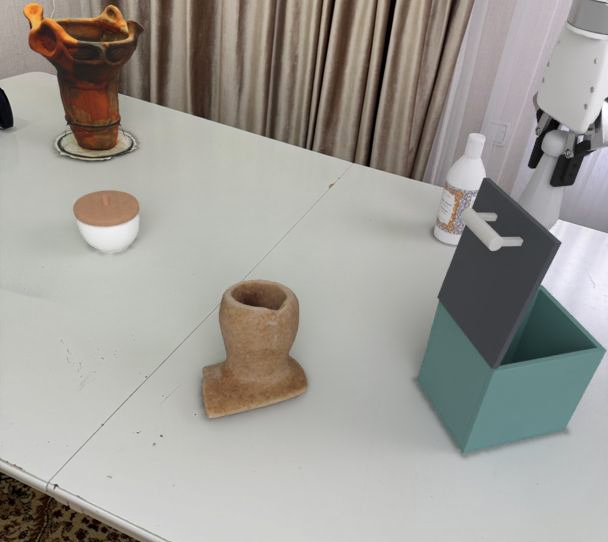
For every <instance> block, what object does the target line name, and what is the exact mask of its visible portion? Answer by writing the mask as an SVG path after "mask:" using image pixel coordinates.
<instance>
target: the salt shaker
mask: <svg viewBox="0 0 608 542" xmlns="http://www.w3.org/2000/svg"><path fill="white" fill-rule="evenodd" d="M568 133H569V130H564V129H561V130H552V131H550V132H548V133H546V135H545V137H544V139H543V142H542V146H541V148H542V150H543V151H544V154H543V156H542V158H541V160H540V162H539V163H538V165H537V167H536V169H534V171H533V172H532V175H531V176H530V178H529V180H528V182H527V184H526V185H525V187H524V189H523V191H522V192H521V193H520V196H519V197H518V199H517V201H516V202H517V203H518V204H519V205H520V206H521V207H522V208H524V209H525V210H526V211H527V212H528V213H529V214H530V215H531V216H533V217H534V218H535V219H536V220H537V221H538V222H539V223H540V224H542V225H543V226H544V227H545V228H546V229H547V230H548V231H549V232H550V231H551V229H552V228H553V227H554V226H555V225H556V224H557V223H558V220H559V218H560V213H561V207H562V201H563V196H564V192H565V191H564V190H565V186H562V187H552V186H551V185H550V180H551V177H552V175H553V172H554V169H555V166H556V163H557V160H558V158H559V156H560V155H561V154H564V153H565V147H566V143H567V138H568ZM579 137H580V136H579ZM579 137H578V141H577V144H578V143H580V142H581V140H580V138H579Z"/></svg>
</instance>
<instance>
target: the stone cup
mask: <svg viewBox="0 0 608 542" xmlns="http://www.w3.org/2000/svg"><path fill="white" fill-rule="evenodd" d="M299 301H300V300H299V299H298V296H297V295H296V294H295V292H294V290H292V289H291V288H289V287H288V286H286V285H284V284H282V283H280V282H276V281H271V280H267V279H249V280H243V281H240V282H237V283H234V284H233V285H232V284H231V285H230V286H229V287H227V288H226V289H225V291H224V292H223V294H222V296H221V300H220V302H219V303H220V304H219V309H218V324H219V328H220V334H221V337H222V340H223V345H224V349H225V352H226V354H225V355H226V359H225V360H224V361H220V362H218V363H215V364H211V365H210V364H209V365H207V366H206V365H205V366H204V367H202V369H201V372H202V376H203V380H202V384H201V391H202V400H203V406H204V412H205V413H206V418H207V419H216V418H221V417H227V416H230V415H236V414H240V413H244V412H248V411H253V410H255V409H260V408H264V407H267V406H271V405H274V404H278V403H282V402H284V401H287V400H290V399H291V400H292V399H294V398H297V397H299V396H301V395H302V394H304V393H306V391H307V390H308V386H309V383H308V378H307V374H306V373H305V370H304V368H303V367H302V366H301V364H300V363H299V362H298V361H297V360H296V359H294V358H293V356H291V355H289V354H290V351H291V350H292V347H293V345H294V343H295V341H296V338H297V335H298V332H299V324H300V302H299Z"/></svg>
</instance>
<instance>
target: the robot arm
mask: <svg viewBox="0 0 608 542" xmlns="http://www.w3.org/2000/svg"><path fill="white" fill-rule="evenodd" d="M537 90H538V91H537V92H536V93H535V94H534V95H533V96H532V103H533V106H534V110H535V112H536V113H535V118H536V122H537V125H536V126H535V129H534V134H535V136H536V138H535V141H534V144H533V147H532V149H531V154H530V157H529V160H528V163H527V167H528V168H529V169H531V170H535V169H536V167H537V165H538V163H539V162H540V160H541V158H542V156H543V154H544V151H543V150H542V148H541V146H542V142H543V139H544V137H545V135H546V133H548V132H550V131H552V130H562V128H563V126H564V127H565V128H567V129H568V131H569V133H568V138H567V143H566V147H565V153H564V154H561V155H560V156H559V158H558V160H557V163H556V166H555V169H554V172H553V175H552V177H551V180H550V185H551V186H552V187H562V186H564V187H570V186H573V185H574V184H575V182H576V179H577V178H578V174H579V172H580V169H581V166H582V164H583V161H584V159H585V158H587V157H590V155H591V154H593V153H594V152H596V151H598V150H601V149H605V148H608V0H572V3H571V6H570V8H569V12H568V15H567V18H566V20H565V22H564V23H563V25H562V28H561V30H560V32H559V34H558V36H557V38H556V41H555V43H554V45H553V47H552V49H551V52H550V55H549V57H548V60H547V63H546V65H545V68H544V71H543V74H542V77H541V80H540V84H539V87H538V89H537ZM581 136H583V137H582V140H581V141H580V143H578V144H577V141H578V137H581Z"/></svg>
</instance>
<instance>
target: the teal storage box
mask: <svg viewBox="0 0 608 542" xmlns="http://www.w3.org/2000/svg"><path fill="white" fill-rule="evenodd" d="M426 344H427V345H426V347H425V350H424V354H423V359H422V362H421V366H420V370H419V373H418V377H417V383H418V385H419V386H420V388H421V390H422V391H423V393H424V394H425V396H426V397H427V399H428V401H429V402H430V404H431V405H432V407H433V408H434V410H435V411H436V413H437V415H438V416H439V418H440V420H441V421H442V423H443V424H444V426H445V427H446V429H447V430H448V432H449V433H450V435H451V437H452V439H453V440H454V442H455V443H456V445H457V447H458V448H459V450H460V451H461V453H462V454H467V453H472V452H476V451H481V450H485V449H489V448H494V447H498V446H502V445H507V444H511V443H515V442H520V441H525V440H529V439H534V438H537V437H541V436H546V435H550V434H555V433H559V432H560V433H561V432H564V431H565V430H566V428H567V426H568V424H570V423H569V422H570V421H571V419H572V417H573V415H574V413H575V411H576V410H577V407H578V406H579V404H580V402H581V401H582V398H583V396H584V394H585V393H586V391H587V388H588V387H589V385H590V383H591V381H592V379H593V378H594V375H595V373H596V371H597V369H599V366H600V364H601V362H602V360H603V359H604V357H605V355H606V353H607V349H606V348H605V347H604V346H603V345H602V343H600V342H599V341H598V340H597V338H595V337H594V335H592V334H591V333H590V332H589V330H588V329H586V328H585V327H584V326H583V324H581V323H580V322H579V321H578V319H576V317H575V316H574V315H573V314H571V313H570V312H569V311H568V310H567V309H566V307H565V306H563V305H562V303H561V302H560V301H559V300H558V299H557V298H556V297H555V296H553V294H551V292H550V291H549V290H548V289H547V288H546V287H545V286H544V285H542V284H541V285H540V287H539V289H538V291H537V293H536V295H535V297H534V298H533V300H532V302H531V304H530V306H529V308H528V310H527V312H526V314H525V316H524V318H523V320H522V322H521V324H520V326H519V328H518V330H517V332H516V334H515V336H514V338H513V340H512V342H511V344H510V346H509V348H508V350H507V352H506V353H505V355H504V357H503V359H502V361H501V363H500V365H499V367H498V369H492V368H491V367H490V366H489V364H488V363H487V362H486V360H485V359H484V358H483V357H482V355H481V354H480V353H479V351H478V350H477V349H476V347H475V346H474V345H473V344H472V342H471V341H470V340H469V338H468V337H467V336H466V334H465V333H464V332H463V330H462V329H461V328H460V327H459V325H458V324H457V323H456V321H455V320H454V319H453V317H452V316H451V315H450V314H449V312H448V311H447V310H446V308H445V307H444V306H443V304H442V303H441V302H440V301H439V300H438V301H437V305H436V309H435V313H434V316H433V321H432V323H431V328H430V332H429V335H428V340H427V343H426Z"/></svg>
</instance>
